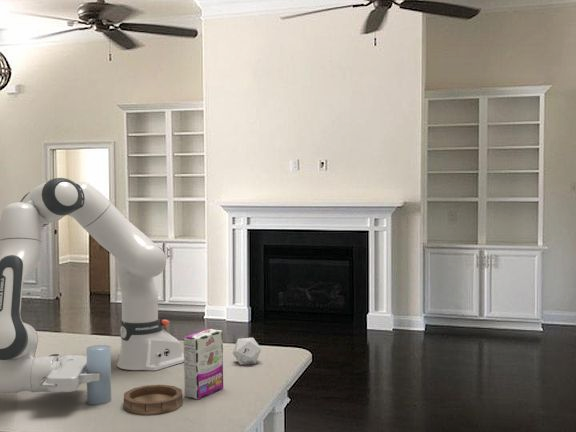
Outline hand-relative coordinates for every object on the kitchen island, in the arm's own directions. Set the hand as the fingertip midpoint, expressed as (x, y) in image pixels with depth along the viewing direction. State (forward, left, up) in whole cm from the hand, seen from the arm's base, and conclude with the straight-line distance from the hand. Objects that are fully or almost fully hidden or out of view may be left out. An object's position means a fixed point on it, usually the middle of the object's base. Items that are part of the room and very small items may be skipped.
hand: (102, 372), depth 165 cm
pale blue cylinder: (+1, -1, -8) cm, 8 cm away
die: (-50, -3, -8) cm, 51 cm away
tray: (-8, +11, -8) cm, 16 cm away
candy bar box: (-23, +12, -8) cm, 28 cm away
